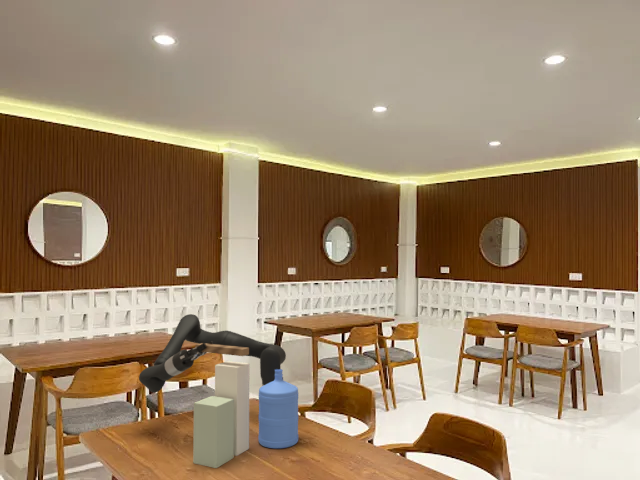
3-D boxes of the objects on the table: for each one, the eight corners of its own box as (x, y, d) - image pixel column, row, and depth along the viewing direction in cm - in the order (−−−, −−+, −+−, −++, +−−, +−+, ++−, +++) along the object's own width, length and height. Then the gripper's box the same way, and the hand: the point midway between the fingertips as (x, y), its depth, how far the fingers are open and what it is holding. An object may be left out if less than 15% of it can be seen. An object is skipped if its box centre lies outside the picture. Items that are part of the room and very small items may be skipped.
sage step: (193, 463, 180) (193, 402, 180) (211, 453, 189) (211, 395, 189) (216, 468, 175) (216, 406, 176) (233, 457, 184) (233, 399, 185)
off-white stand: (214, 451, 191) (215, 365, 191) (227, 444, 198) (227, 361, 199) (236, 455, 186) (237, 367, 187) (249, 448, 193) (249, 363, 194)
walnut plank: (195, 351, 198) (195, 344, 198) (202, 349, 202) (202, 343, 202) (242, 356, 188) (242, 349, 189) (248, 354, 192) (248, 347, 192)
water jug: (292, 450, 191) (292, 375, 192) (252, 447, 194) (253, 373, 195) (302, 436, 206) (302, 366, 207) (265, 433, 210) (265, 364, 210)
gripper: (162, 357, 199) (193, 338, 192) (187, 351, 211) (216, 333, 205) (170, 375, 197) (201, 356, 191) (194, 368, 210) (224, 350, 203)
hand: (209, 344), depth 198 cm, fingers closed on walnut plank, 4 cm apart
